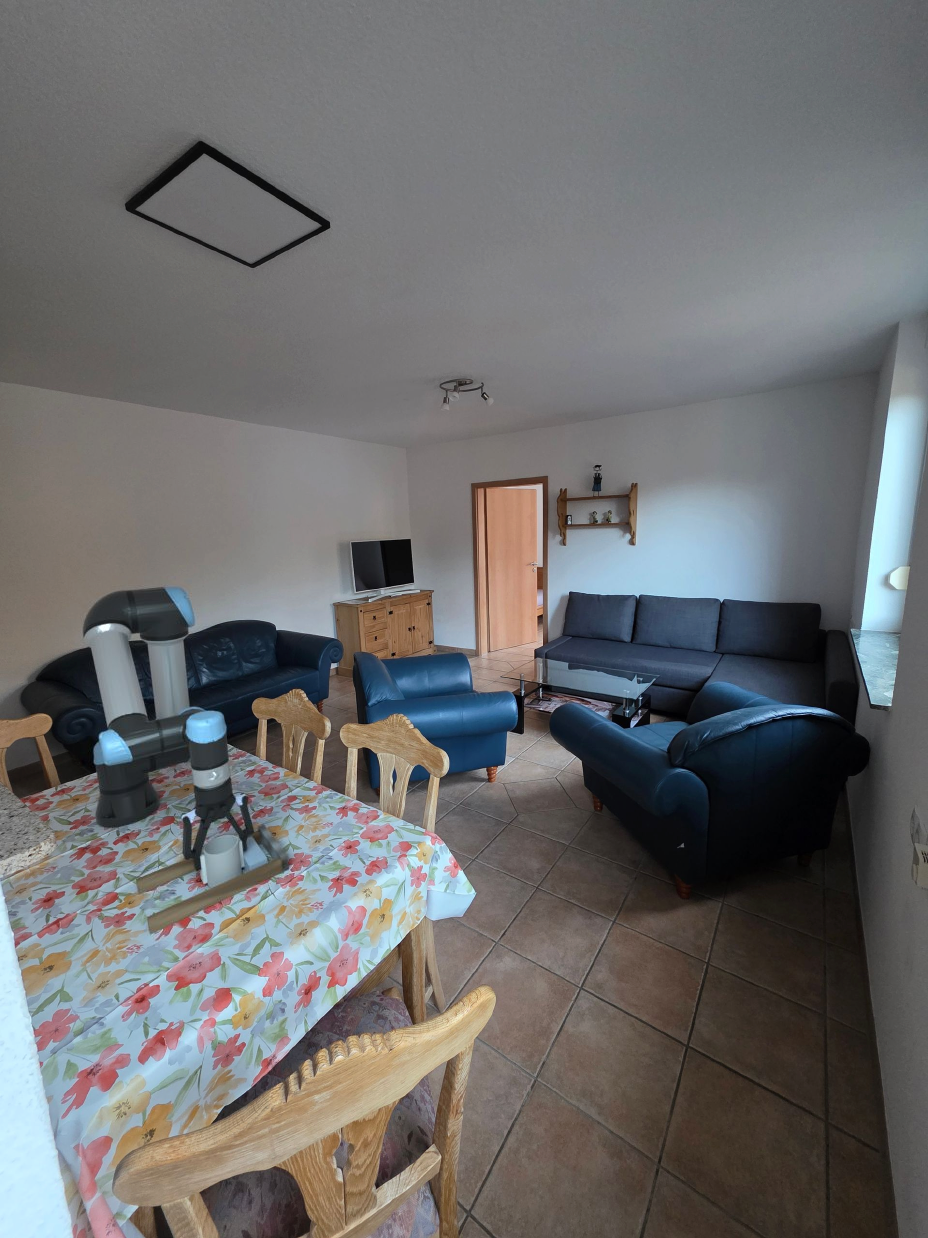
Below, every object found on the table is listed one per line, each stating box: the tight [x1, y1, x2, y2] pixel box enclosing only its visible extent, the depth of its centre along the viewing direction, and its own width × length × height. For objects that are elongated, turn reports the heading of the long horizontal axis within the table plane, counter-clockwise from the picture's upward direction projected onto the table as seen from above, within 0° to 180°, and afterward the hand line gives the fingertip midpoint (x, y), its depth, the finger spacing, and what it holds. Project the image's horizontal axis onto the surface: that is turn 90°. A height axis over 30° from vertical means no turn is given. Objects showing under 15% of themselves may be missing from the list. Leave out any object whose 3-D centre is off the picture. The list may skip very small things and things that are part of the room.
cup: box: [202, 834, 243, 889], centre depth 112 cm, size 7×10×9 cm
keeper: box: [242, 837, 268, 873], centre depth 116 cm, size 11×4×4 cm, turn 40°
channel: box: [135, 823, 289, 935], centre depth 111 cm, size 16×28×4 cm, turn 131°
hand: (223, 872), depth 112 cm, fingers closed on cup, 7 cm apart
